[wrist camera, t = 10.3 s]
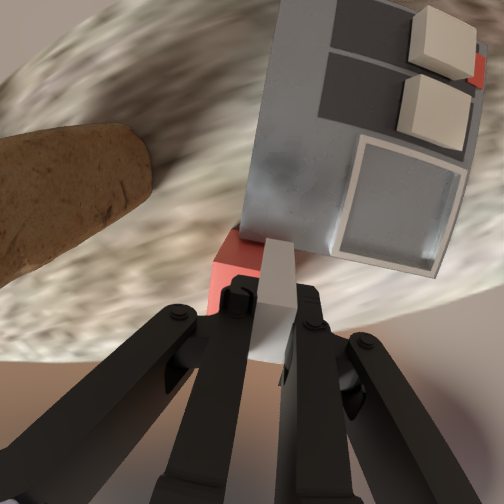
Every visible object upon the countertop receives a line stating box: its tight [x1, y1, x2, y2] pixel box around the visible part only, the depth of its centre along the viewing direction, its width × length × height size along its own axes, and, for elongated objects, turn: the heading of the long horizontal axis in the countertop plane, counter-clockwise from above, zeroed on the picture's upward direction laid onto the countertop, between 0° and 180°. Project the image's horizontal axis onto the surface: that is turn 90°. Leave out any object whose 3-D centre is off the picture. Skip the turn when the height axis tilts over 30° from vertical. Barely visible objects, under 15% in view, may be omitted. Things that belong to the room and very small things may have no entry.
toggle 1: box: [408, 5, 477, 81], centre depth 15 cm, size 4×4×3 cm
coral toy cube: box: [206, 229, 265, 315], centre depth 25 cm, size 5×5×7 cm
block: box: [0, 123, 152, 289], centre depth 17 cm, size 11×8×20 cm
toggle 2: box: [397, 74, 471, 151], centre depth 17 cm, size 4×4×3 cm
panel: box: [238, 0, 488, 279], centre depth 21 cm, size 17×21×4 cm
